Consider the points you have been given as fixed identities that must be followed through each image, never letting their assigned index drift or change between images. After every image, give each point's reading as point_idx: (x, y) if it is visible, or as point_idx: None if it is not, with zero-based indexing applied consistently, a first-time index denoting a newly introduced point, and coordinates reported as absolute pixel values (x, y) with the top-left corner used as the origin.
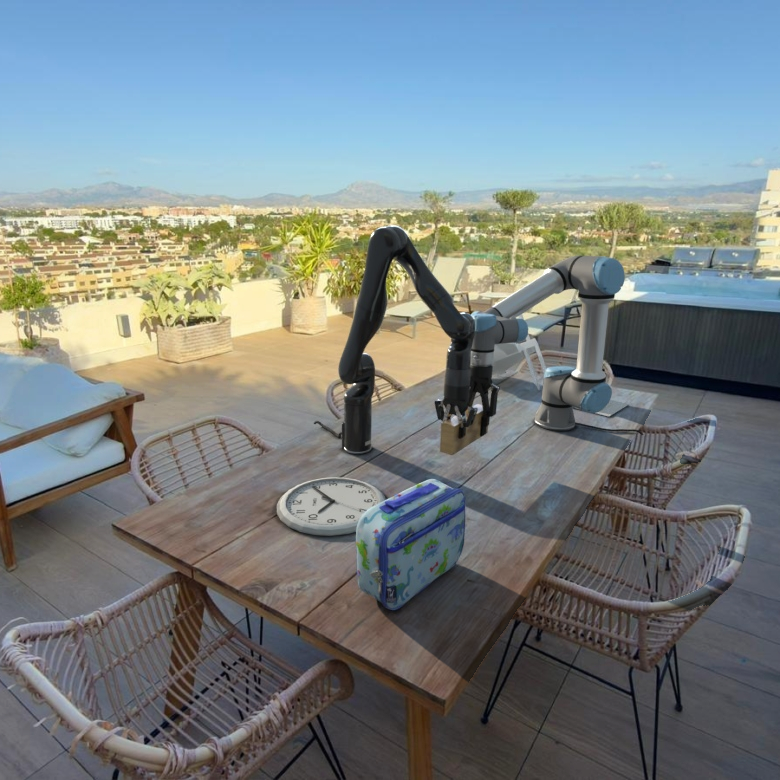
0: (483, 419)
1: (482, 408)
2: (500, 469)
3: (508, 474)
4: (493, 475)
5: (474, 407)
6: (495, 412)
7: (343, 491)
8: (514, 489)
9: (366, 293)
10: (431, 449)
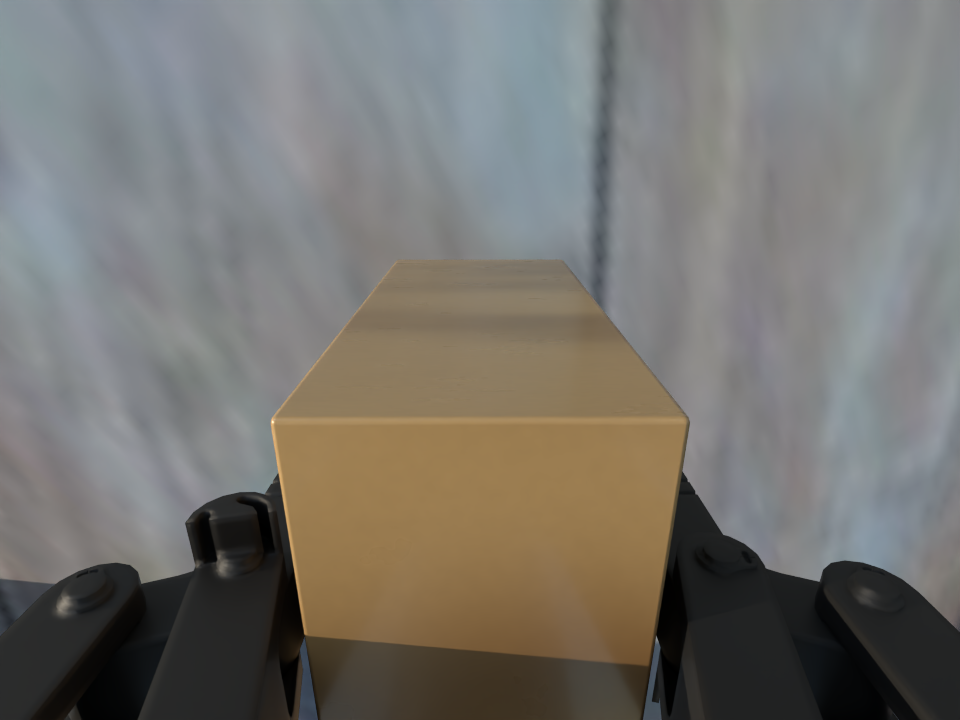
0: None
1: (571, 628)
2: (709, 356)
3: (778, 389)
4: (695, 456)
5: (379, 681)
6: (936, 636)
7: None
8: (854, 530)
9: None
10: (150, 368)
